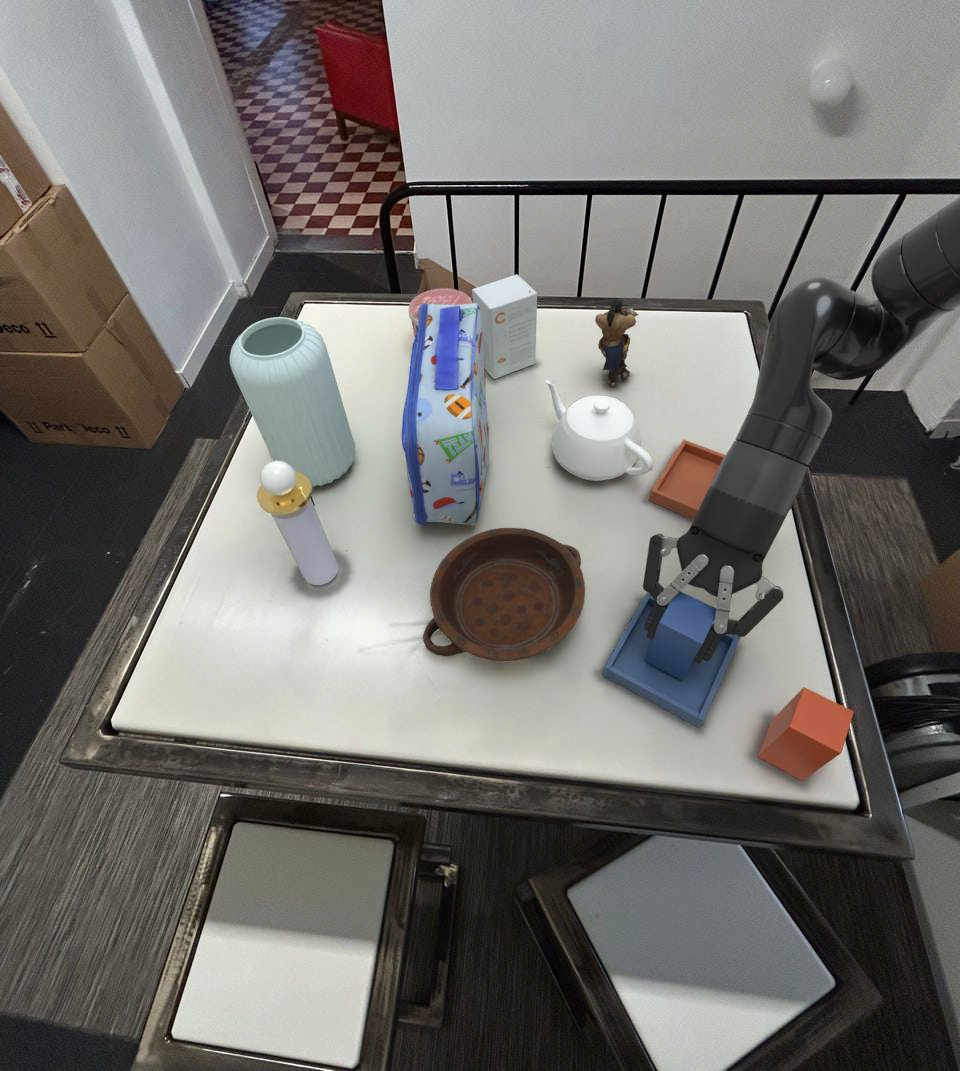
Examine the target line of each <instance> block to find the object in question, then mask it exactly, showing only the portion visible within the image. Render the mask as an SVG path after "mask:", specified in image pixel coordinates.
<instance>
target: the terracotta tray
mask: <svg viewBox="0 0 960 1071" xmlns="http://www.w3.org/2000/svg"><path fill="white" fill-rule="evenodd" d="M725 455H726V454H723V453H722V452H718V451H715V450H713V449H710V448H707V447H704V446H702V445H699V444H697V443H695V442H692V441H689V440H686V439H682V441H681V442H680V444H679V445H678V447H677V448H676V450H675V452H674V453H673V455H672V457H671V458H670V460H669V461H668V462H667V465H666V466H665V468H664V469H663V471H662V472H661V474H660V475H659V477H658V479H657V480H656V482H655V483H654V486H653V487H652V488H651V490H650V494H649V497H648V501H649V502H651V503H653V504H656V505H658V506H661V507H663V508H665V509H667V510H670V511H672V512H674V513H677V514H679V515H681V516H684V517H686V518H689V519H691V520H692V521H693V520H694V518H695V516H696V514H697V512H698V510H699V507H700V505H701V503H702V501H703V499H704V497H705V495H706V493H707V491H708V489H709V487H710V485H711V482H712V480H713V478H714V475H715V474H716V472H717V470H718V468H719V466H720V464H721V462H722V460H723V458H724V457H725Z"/></svg>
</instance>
